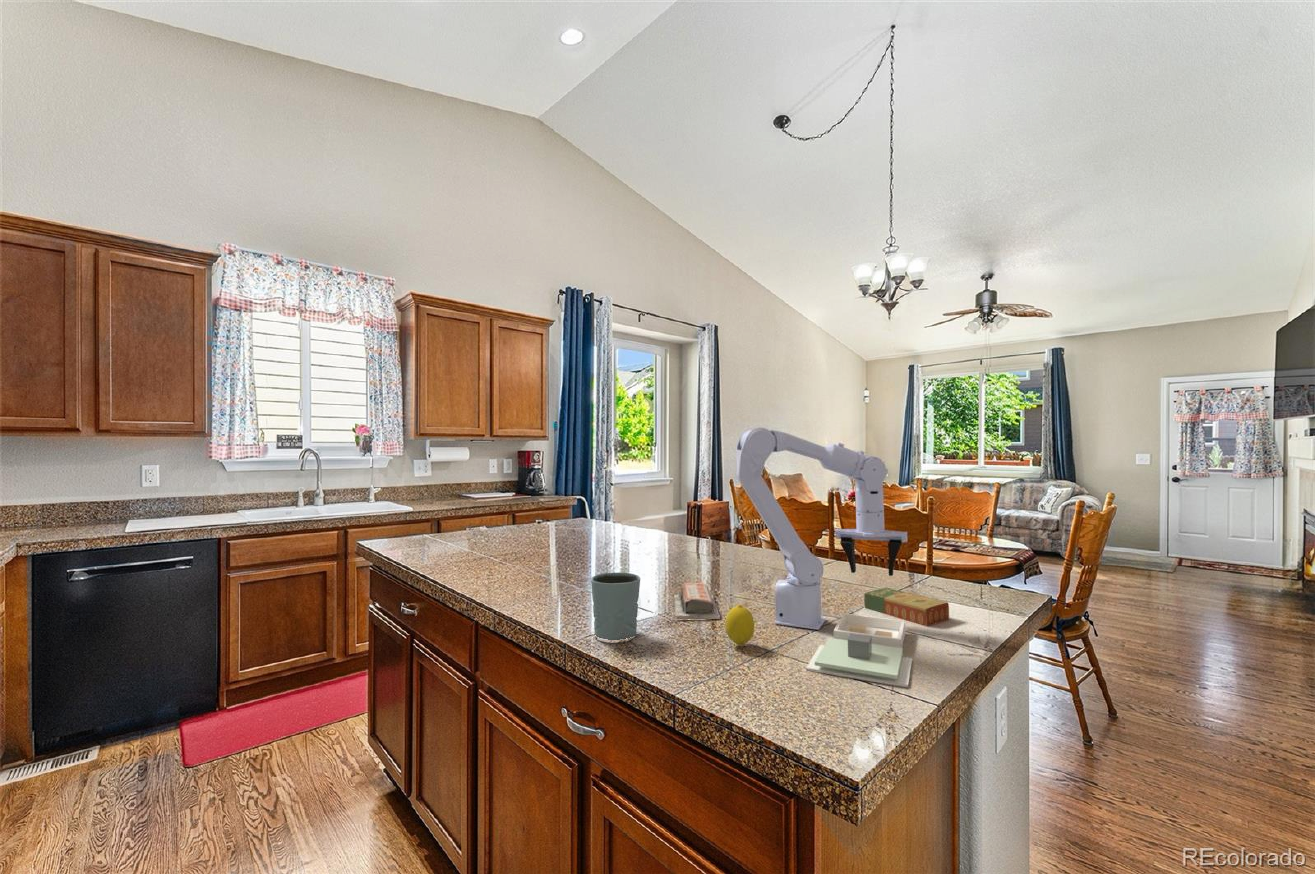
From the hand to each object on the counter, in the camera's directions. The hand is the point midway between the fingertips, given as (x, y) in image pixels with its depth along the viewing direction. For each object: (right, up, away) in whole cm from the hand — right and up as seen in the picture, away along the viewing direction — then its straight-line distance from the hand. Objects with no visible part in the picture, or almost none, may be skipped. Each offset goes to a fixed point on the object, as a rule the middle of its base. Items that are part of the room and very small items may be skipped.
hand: (871, 573), depth 120 cm
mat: (-11, -10, -24) cm, 28 cm away
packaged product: (-38, -12, +12) cm, 41 cm away
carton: (+9, -11, +5) cm, 15 cm away
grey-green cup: (-55, -12, -6) cm, 57 cm away
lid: (-11, -10, -23) cm, 28 cm away
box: (-4, -10, -10) cm, 15 cm away
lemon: (-31, -11, -13) cm, 35 cm away
